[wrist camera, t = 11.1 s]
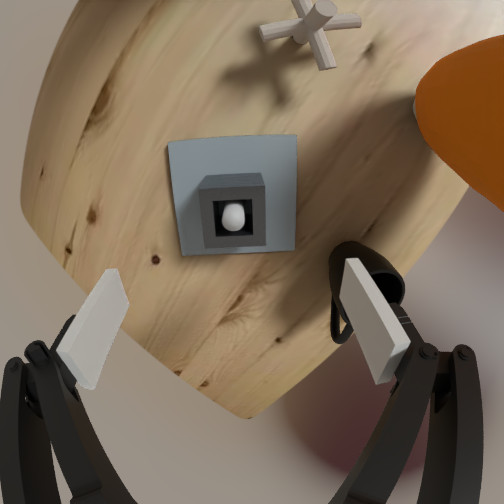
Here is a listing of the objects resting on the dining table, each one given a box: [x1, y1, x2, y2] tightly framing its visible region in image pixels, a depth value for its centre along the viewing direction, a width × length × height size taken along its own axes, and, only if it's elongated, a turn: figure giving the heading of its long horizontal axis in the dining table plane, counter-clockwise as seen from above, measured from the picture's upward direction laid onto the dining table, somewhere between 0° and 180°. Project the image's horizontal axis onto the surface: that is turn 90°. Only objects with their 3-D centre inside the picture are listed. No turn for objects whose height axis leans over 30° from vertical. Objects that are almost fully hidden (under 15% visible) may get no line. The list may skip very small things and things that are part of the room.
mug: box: [329, 241, 405, 344], centre depth 33 cm, size 8×12×10 cm
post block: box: [168, 135, 297, 256], centre depth 28 cm, size 14×14×8 cm
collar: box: [198, 173, 266, 249], centre depth 28 cm, size 6×6×6 cm
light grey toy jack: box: [258, 0, 362, 71], centre depth 18 cm, size 10×10×10 cm
